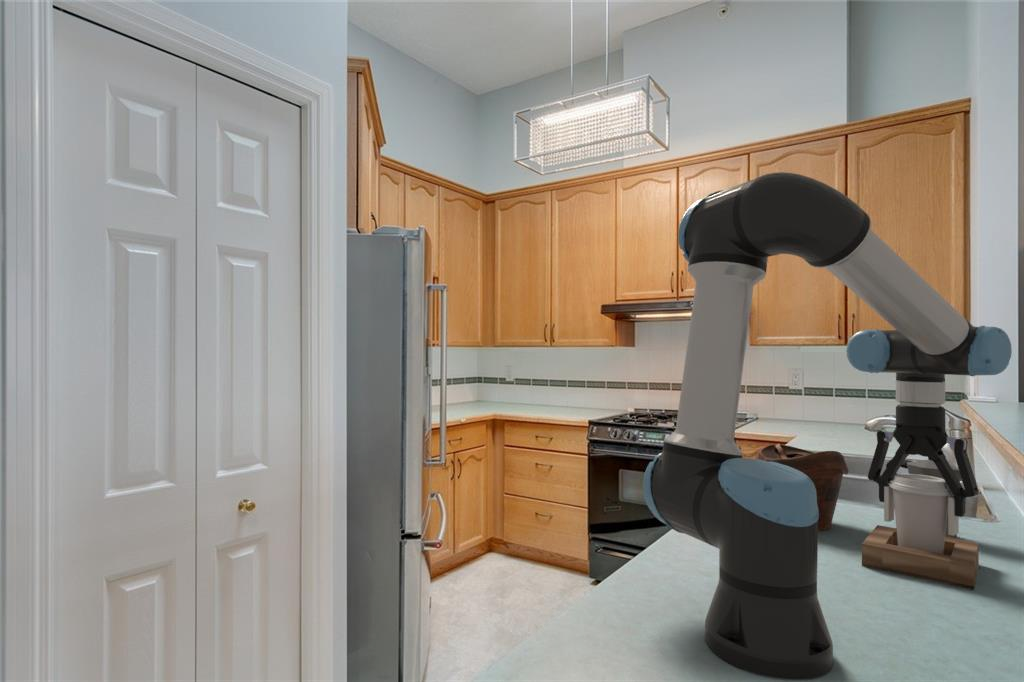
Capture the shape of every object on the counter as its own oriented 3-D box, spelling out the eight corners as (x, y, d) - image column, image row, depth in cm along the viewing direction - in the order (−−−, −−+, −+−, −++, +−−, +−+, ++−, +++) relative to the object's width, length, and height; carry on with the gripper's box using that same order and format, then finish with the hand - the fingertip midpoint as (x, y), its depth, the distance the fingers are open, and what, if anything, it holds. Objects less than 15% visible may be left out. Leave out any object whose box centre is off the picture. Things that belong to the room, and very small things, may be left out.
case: (761, 506, 146) (761, 435, 146) (852, 521, 135) (852, 444, 135) (742, 523, 132) (743, 445, 132) (843, 542, 120) (843, 455, 120)
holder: (973, 590, 95) (973, 565, 95) (861, 565, 105) (861, 543, 106) (978, 564, 107) (978, 542, 107) (877, 544, 118) (877, 525, 118)
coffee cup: (956, 560, 106) (956, 478, 107) (949, 574, 100) (949, 486, 100) (894, 547, 113) (894, 470, 113) (884, 559, 106) (884, 477, 106)
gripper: (1002, 408, 100) (1002, 539, 100) (863, 399, 118) (863, 510, 117) (989, 410, 96) (989, 547, 95) (847, 401, 114) (847, 516, 113)
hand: (920, 526), depth 106 cm, fingers closed on coffee cup, 9 cm apart
